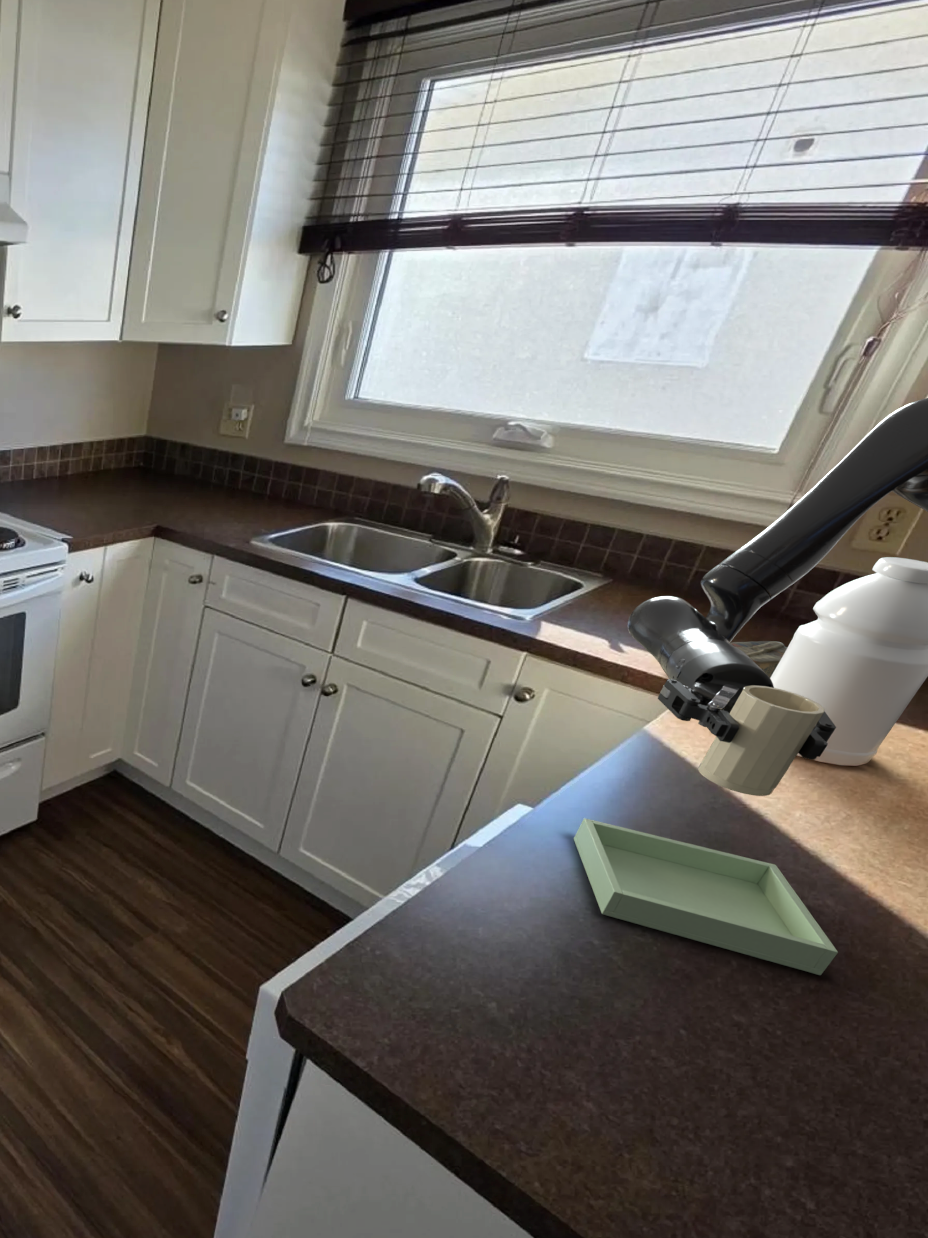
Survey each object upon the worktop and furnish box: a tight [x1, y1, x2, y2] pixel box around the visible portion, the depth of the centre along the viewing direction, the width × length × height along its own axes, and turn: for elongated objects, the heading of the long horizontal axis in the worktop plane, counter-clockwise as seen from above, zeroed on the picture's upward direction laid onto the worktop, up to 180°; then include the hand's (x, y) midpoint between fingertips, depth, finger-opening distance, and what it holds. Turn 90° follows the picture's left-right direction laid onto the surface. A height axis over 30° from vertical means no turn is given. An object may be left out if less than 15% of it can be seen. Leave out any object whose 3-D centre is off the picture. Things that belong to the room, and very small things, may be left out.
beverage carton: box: [730, 640, 788, 678], centre depth 136 cm, size 8×19×7 cm, turn 102°
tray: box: [573, 817, 839, 976], centre depth 86 cm, size 18×15×3 cm
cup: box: [697, 685, 825, 797], centre depth 84 cm, size 6×6×10 cm
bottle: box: [770, 556, 928, 767], centre depth 113 cm, size 14×14×28 cm
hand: (771, 742), depth 82 cm, fingers closed on cup, 6 cm apart
